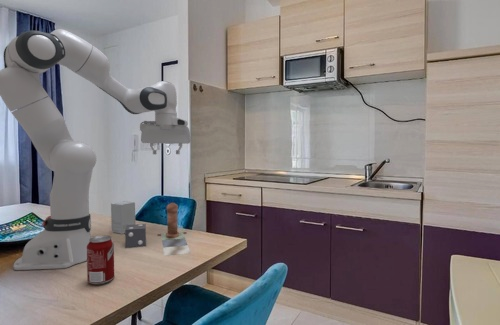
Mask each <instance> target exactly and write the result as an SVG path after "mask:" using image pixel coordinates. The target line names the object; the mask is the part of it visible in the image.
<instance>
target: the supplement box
mask: <svg viewBox="0 0 500 325" xmlns="http://www.w3.org/2000/svg"><path fill="white" fill-rule="evenodd" d="M110 214H111V216H110V217H111V219H110V220H111V221H110V222H111V223H110V224H111V232H112V233H116V234H117V233H118V234H120V235H121V234H122V235H123V234H125V229H126V225H136V203H135V202H134V201H128V200H123V201H117V202H111V203H110Z"/></svg>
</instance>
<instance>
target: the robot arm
mask: <svg viewBox="0 0 500 325" xmlns="http://www.w3.org/2000/svg"><path fill="white" fill-rule="evenodd" d="M3 63H4V64H3V65H4V68H2V69H0V98H1V99H2V101H3V102H4V104H5V105H6V107H7V109H8V110H9V111H10V113H11V114H12V116H13V118H14V119H15V120H16V121H17V122H18V124H19V125H20V127H22V129H23V130H24V132H25V133H26V134H27V136H28V138H29V139H30V141H31V143H32V145H33V147H34V148H35V150H36V151H37V153H38V155H39V156H40V158H41V159H42V161H43V162H44V164H45V165H46V167H47V168H48V170H50V171H53V180H52V187H51V191H50V192H49V205H50V208H49V209H50V212H49V213H50V215H49V216H47V217H46V218H45V220H43V222H42V227H43V230H42V231H41V232H39V233H38V234H37V235H35V236H34V237H32V238H31V239H30V240H29V241H28V242H27V243H26V244H25V246H24V247H23V250H22V256H20V257H19V258H18V259H16V261H14V263H13V266H12V267H13V270H14V271H26V270H27V271H29V270H30V271H31V270H52V269H53V270H54V269H55V270H56V269H66V268H70V267H71V266H74V265H77V264H81V263H84V262H87V245H88V243H89V242H90V241H89V239H90V238H92V235H91V231H92V230H91V229H92V217H91V214H90V199H89V198H90V196H89V193H90V186H91V180H92V175H93V170H94V167H95V165H96V163H97V155H96V152H95V151H94V149H93V148H92V147H91V146H89V145H88V144H86V143H84V142H82V141H79V140H74V139H73V138H72V135H71V134H70V131H69V129H68V127H67V125H66V119H65V118H64V116H63V114H62V113H61V112H60V110H59V109H58V107H57V106H56V104H55V103H54V101H53V100H52V98H51V97H50V96H49V94H48V92H47V91H46V90H45V88H44V87H43V85H42V83H41V80H40V74H42V73H45V72H47V71H48V70H50V69H51V68H53V67H54V66H56V65H61V66H63V67H66V68H67V69H68V70H70V71H72V72H73V73H75V74H77V75H78V76H80V77H82V78H83V79H85V80H87V81H89V82H90V83H92V84H93V85H95V86H96V87H97V88H98V89H100V90H102V91H103V92H105V93H106V94H107V95H109V96H111V97H112V98H113V99H115V101H118V102H119V103H120V105H121V106H122V107H123V109H125V111H127V112H128V113H130V114H132V115H141V114H144V113H149V112H154V120H144V121H142V122H141V123H140V124H139V131H141V132H140V134H141V135H140V142H141V143H142V144H149V147H150V148H151V150H152V155H157V154H158V153H157V149H155V148H154V144H178V147H179V148H178V149H176V150H175V155H180V153H181V152H180V151H181V149H182V148H183V144H187V145H188V144H190V143H191V140H192V138H191V130H190V128H189V126H188V124H189V122H188V120H185V119H183V118H180V117H178V114H177V113H178V112H177V109H176V108H177V105H178V101H177V99H178V98H177V97H178V96H177V89H176V87H175V85H174V84H173V83H172V82H169V81H165V80H163V81H162V80H159V81H156V83H154V84H152V85H148V86H143V87H140V88H135V89H134V88H129V87H127V86H125V85H124V84H122V83H121V82H120V81H118V80H117V79H116V78H115V77H113V76H112V75H111V73H110V69H111V63H110V59H109V58H108V56H107V55H105V53H103V52H102V51H101V50H100V49H98V48H97V47H96V46H94V45H93V44H91V43H90V42H88V41H87V40H85V39H83V38H82V37H81V36H78V35H76V34H75V33H73V32H70V31H69V30H66V29H63V28H58V29H55V30H53V31H51V32H50V33H49V32H44V31H39V30H27V31H24V32H21V33H19V35H18V36H16V37H14V38H12V39H11V41H10V42H9V43H8V44H7V45H6V47H5V48H4V50H3Z"/></svg>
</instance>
